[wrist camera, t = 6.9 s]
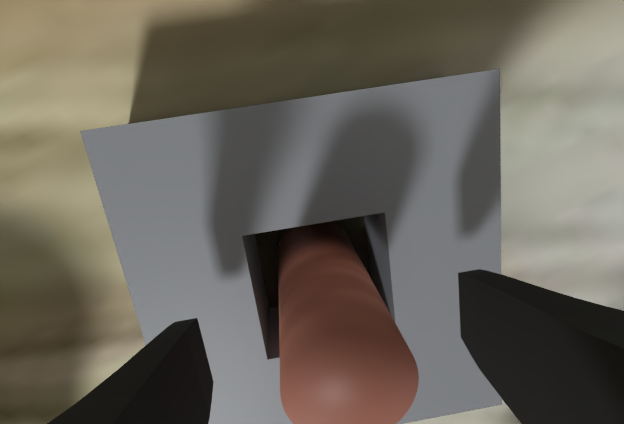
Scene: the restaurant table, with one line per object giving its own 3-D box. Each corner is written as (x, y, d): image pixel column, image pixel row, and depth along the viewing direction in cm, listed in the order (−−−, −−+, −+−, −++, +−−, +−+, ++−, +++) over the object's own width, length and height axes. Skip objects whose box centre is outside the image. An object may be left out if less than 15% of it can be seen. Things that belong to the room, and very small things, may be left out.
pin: (347, 212, 16) (417, 315, 8) (352, 278, 16) (420, 432, 9) (273, 220, 15) (271, 336, 8) (282, 288, 16) (289, 452, 8)
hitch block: (447, 77, 14) (499, 68, 11) (459, 348, 18) (502, 404, 14) (127, 124, 14) (80, 130, 11) (201, 395, 17) (182, 465, 14)
